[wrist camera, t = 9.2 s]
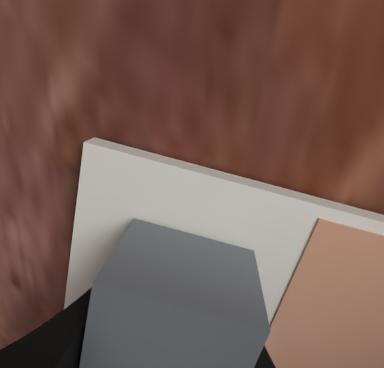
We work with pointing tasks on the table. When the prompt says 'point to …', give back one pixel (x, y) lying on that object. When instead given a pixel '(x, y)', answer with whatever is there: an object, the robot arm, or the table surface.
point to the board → (247, 247)
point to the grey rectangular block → (175, 304)
